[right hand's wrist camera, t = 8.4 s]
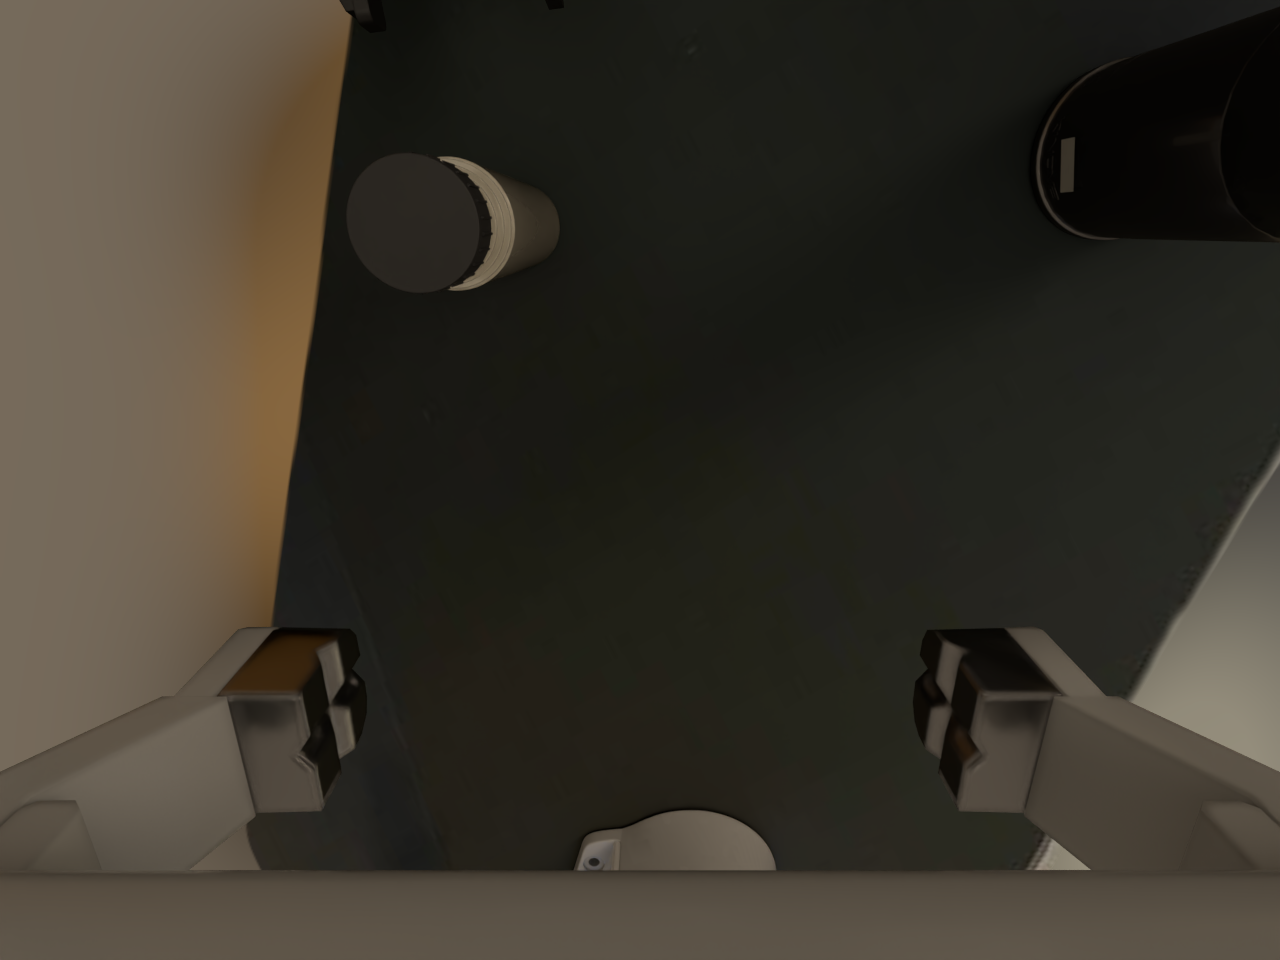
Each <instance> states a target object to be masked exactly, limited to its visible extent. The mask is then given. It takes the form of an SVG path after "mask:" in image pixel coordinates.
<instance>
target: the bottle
mask: <svg viewBox="0 0 1280 960" xmlns="http://www.w3.org/2000/svg"><path fill="white" fill-rule="evenodd" d="M437 158H440V161H442V160H444V161H447V162H449V163H452V164H455V167H456V168H458V169H459V170H461V171H462V172H464V173H467V174H468V175H469V176H468V177H469V178H470V179H471V180H472V181H473V182H474V183H475V185H477V186H479V187H480V188H479V190H480V192H481V193H482V195H483V197H484V199H485V200H487V202H488V203H486V204H487V207H488V210H489V213H490V216H492V219H491V228H492V229H491V232H493V235H491V241H490V246H489V248H490V250H489V251H488V252H487V255H486V257H485V259H484V264H482V265H480V267H479V268H478V269H477V270H476V272H475V275H474V276H471V277H469V278H468V279H466V280H465V281H463V282H464V283H463V284H461V285H458V286H455V287H450V288H451V289H448V290H453V291H459V290H468V289H473V288H476V287H479V286H481V285H484V284H487V283H489V282H492V281H495V280H497V279H500V278H503V277H505V276H508V275H511V274H513V273H516V272H519V271H521V270H524V269H526V268H529V267H532V266H534V265H537V264H539V263H541V262H542V261H544V260H545V259H546V258H547V257H548V256H549V255H550V254H551V253H552V251H553V250H554V248H555V246H556V244H557V241H558V238H559V232H560V223H559V217H558V214H557V211H556V209H555V206H554V205H553V203H552V201H551V200H550V199H549V198H548V197H547V196H546V195H545V194H544V193H543V192H542V191H541V190H539V189H537V188H536V187H533V186H531V185H529V184H526V183H524V182H521V181H518V180H516V179H513V178H511V177H508V176H506V175H503V174H501V173H498V172H496V171H493V170H491V169H488V168H486V167H483V166H481V165H478V164H476V163H473V162H471V161H468V160H465V159H461V158H457V157H437Z"/></svg>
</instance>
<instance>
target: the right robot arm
mask: <svg viewBox="0 0 1280 960" xmlns="http://www.w3.org/2000/svg"><path fill="white" fill-rule="evenodd" d="M359 656H360V652H359V647H358V642H357V637H356V634H355V633H354V632H353V631H352V630H351V629H338V628H288V627H282V628H278V627H247V628H243V629H238V630H237V631H236V632H235V633H234V634H233V635H232V636H231V637H230V638H229V639H228V640H227V641H226V643H225V644H224V645H223V646H222V647H221V648H220V649H219V650H218V651H217V652H216V653H215V654H214V655H213V656H212V657H211V658H210V659H209V660H208V661H207V662H206V664H204V666H203V667H202V668H201V669H200V670H199V671H198V672H197V673H196V674H195V675H194V676H193V677H192V678H191V679H190V680H189V681H188V682H187V683H186V684H185V685H184V686H183V688H181V690H180V691H179V692H178V693H177V694H176V695H175V696H171V697H160V698H158V699H156V700H154V701H151V702H149V703H147V704H145V705H143V706H141V707H139V708H136V709H134V710H132V711H130V712H128V713H126V714H123V715H121V716H119V717H117V718H115V719H113V720H111V721H108V722H106V723H104V724H102V725H100V726H98V727H96V728H93V729H91V730H89V731H87V732H85V733H83V734H81V735H78V736H76V737H74V738H72V739H70V740H68V741H66V742H63V743H61V744H59V745H57V746H55V747H53V748H50V749H48V750H46V751H44V752H42V753H40V754H38V755H35V756H33V757H31V758H29V759H27V760H25V761H23V762H20V763H18V764H16V765H14V766H12V767H10V768H7V769H5V770H3V771H1V772H0V960H1280V772H1279V771H1276V770H1274V769H1272V768H1270V767H1268V766H1266V765H1263V764H1261V763H1259V762H1257V761H1255V760H1253V759H1251V758H1249V757H1246V756H1244V755H1242V754H1240V753H1238V752H1236V751H1234V750H1231V749H1229V748H1227V747H1225V746H1223V745H1221V744H1219V743H1216V742H1214V741H1212V740H1210V739H1208V738H1206V737H1204V736H1201V735H1199V734H1197V733H1195V732H1193V731H1191V730H1189V729H1186V728H1184V727H1182V726H1180V725H1178V724H1176V723H1173V722H1171V721H1169V720H1167V719H1165V718H1163V717H1161V716H1159V715H1156V714H1154V713H1152V712H1150V711H1148V710H1146V709H1144V708H1141V707H1139V706H1137V705H1135V704H1133V703H1131V702H1129V701H1126V700H1124V699H1122V698H1120V697H1110V696H1105V695H1104V694H1103V693H1102V692H1101V691H1100V689H1099V688H1098V687H1097V686H1096V685H1095V684H1094V683H1093V682H1092V681H1091V680H1090V679H1089V678H1088V677H1087V676H1086V675H1085V674H1084V673H1083V672H1082V671H1081V670H1080V669H1079V668H1078V666H1077V665H1076V664H1075V663H1074V662H1073V661H1072V660H1071V659H1070V658H1069V657H1068V656H1067V655H1066V654H1065V653H1064V652H1063V651H1062V650H1061V649H1060V648H1059V647H1058V646H1057V644H1056V643H1055V642H1054V641H1053V640H1052V639H1051V638H1050V637H1049V636H1048V635H1047V634H1046V633H1045V632H1044V631H1043V630H1041V629H1038V628H1036V627H1010V628H987V629H946V630H927V632H926V634H925V636H924V638H923V640H922V645H921V651H920V656H921V658H922V660H923V661H924V663H925V665H926V666H927V668H928V669H927V670H926V671H925V672H924V673H923V674H922V675H921V676H920V677H919V678H918V679H917V680H916V681H915V689H914V697H913V708H914V719H915V724H916V727H917V731H918V734H919V737H920V739H921V741H922V743H923V745H924V747H925V749H927V750H928V751H930V752H931V753H932V754H934V755H935V756H937V757H938V758H940V759H941V760H940V766H939V771H938V773H939V775H940V777H941V779H942V781H943V783H944V785H945V786H946V788H947V790H948V792H949V794H950V796H951V798H952V800H953V801H954V803H955V805H956V807H957V809H958V811H979V812H1015V813H1025V814H1024V816H1025V817H1026V818H1028V819H1029V820H1030V821H1031V822H1033V823H1034V824H1035V825H1036V826H1037V827H1039V828H1040V829H1041V830H1042V831H1044V832H1045V833H1046V834H1047V835H1049V836H1050V837H1051V838H1052V839H1054V840H1055V841H1056V842H1057V843H1059V844H1060V845H1061V846H1062V847H1063V848H1065V849H1066V850H1067V851H1069V852H1070V853H1071V854H1072V855H1073V856H1075V857H1076V858H1077V859H1078V860H1080V861H1081V862H1082V863H1083V864H1085V865H1086V866H1087V867H1088V868H1090V869H1091V870H776V865H775V861H774V858H773V855H772V853H771V851H770V849H769V847H768V846H767V844H766V843H765V842H764V840H763V839H762V838H761V837H760V836H759V835H758V834H757V833H756V832H755V831H753V830H752V829H751V828H749V827H748V826H747V825H745V824H743V823H742V822H740V821H738V820H736V819H733V818H731V817H728V816H725V815H722V814H718V813H714V812H709V811H701V810H680V811H672V812H666V813H662V814H658V815H655V816H652V817H649V818H647V819H644V820H642V821H640V822H638V823H636V824H633V825H631V826H628V827H625V828H622V829H611V830H602V831H597V832H593V833H590V834H588V835H587V836H586V837H585V838H584V840H583V842H582V845H581V848H580V851H579V855H578V858H577V861H576V864H575V867H574V870H189V869H191V868H192V867H193V866H194V865H196V864H197V863H198V862H199V861H201V860H202V859H203V858H204V857H206V856H207V855H208V854H209V853H211V852H212V851H213V850H214V849H215V848H217V847H218V846H219V845H220V844H222V843H223V842H224V841H225V840H227V839H228V838H229V837H230V836H232V835H233V834H234V833H235V832H237V831H238V830H239V829H240V828H242V827H243V826H244V825H245V824H247V823H248V822H249V821H250V820H252V819H253V818H254V817H255V816H256V814H255V813H264V812H299V811H322V809H323V807H324V805H325V803H326V802H327V800H328V798H329V796H330V794H331V792H332V790H333V788H334V786H335V785H336V783H337V781H338V779H339V777H340V775H341V773H342V771H341V766H340V760H339V759H340V758H342V757H343V756H345V755H346V754H348V753H349V752H350V751H352V750H353V749H355V747H356V744H357V742H358V740H359V738H360V736H361V734H362V731H363V727H364V722H365V718H366V713H367V694H366V688H365V681H364V680H363V679H362V678H361V677H360V676H359V675H358V674H357V673H356V672H355V671H354V670H353V669H352V668H353V666H354V664H355V663H356V661H357V660H358V658H359ZM593 858H596V859H593Z"/></svg>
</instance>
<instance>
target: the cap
mask: <svg viewBox="0 0 1280 960" xmlns="http://www.w3.org/2000/svg"><path fill="white" fill-rule="evenodd" d="M468 176H469V175H468V174H467V173H464V172H462V171H461V170H459V169H458V168H456V167H455V164H452V163H449V162H447V161H444V160H442V161H440V158H437V157H435V156H432V155H429V154H426V155H421V154H417V153H414V152H409V153H396V154H391V155H388V156H385V157H382V158H380V159H378V160H376V161H375V162H373V163H372V164H370V165H369V166H368V167H367V168H366V169H365V170H364V171H363V172H362V173H361V174H360V175H359V177H358V178H357V180H356V181H355V183H354V185H353V187H352V189H351V192H350V194H349V198H348V202H347V210H346V222H347V229H348V234H349V237H350V241H351V243H352V246H353V248H354V250H355V252H356V254H357V256H358V257H359V259H360V260H361V262H362V263H363V265H364V266H365V267H366V268H367V269H368V270H369V271H370V272H371V273H372V274H373V275H374V276H375V277H376V278H378V279H379V280H381V281H382V282H383V283H385V284H387V285H389V286H391V287H393V288H395V289H398V290H401V291H405V292H408V293H422V294H427V293H430V292H435V291H437V293H439V292H442V291H445V290H448V289H451V288H450V287H455V286H458V285H461V284H463V283H464V282H463V281H465V280H466V279H468V278H469V277H471V276H474V275H475V272H476V270H477V269H478V268H479V267H480V265H482V264H484V259H485V257H486V255H487V252H488V251H489V250H490V248H489V246H490V241H491V235H493V232H491V229H492V228H491V219H492V216H490V213H489V210H488V207H487V204H486V203H488V202H487V200H485V199H484V197H483V195H482V193H481V192H480V190H479V188H480V187H479V186H477V185H475V183H474V182H473V181H472V180H471V179H470V178H469V177H468Z"/></svg>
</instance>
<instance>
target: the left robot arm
mask: <svg viewBox="0 0 1280 960" xmlns="http://www.w3.org/2000/svg"><path fill="white" fill-rule="evenodd" d="M340 2H341V4H342V5H343V7H344V9H345V10H346V12H348V13H349V14H350V15H352V16H353V17H354V18H356V19H357V20H358V22H359V24H360V25H361V26H362V27H363V28H365V29H366V30H367V31H369V32H370V33H373V32H380V31H386V22H385V17H384V12H383V7H382V2H381V0H340ZM546 3H547V5H548V8H549V10H550V9H558V8H564V3H563V0H546ZM1031 181H1032V187H1033V191H1034V194H1035V197H1036V200H1037V202H1038V204H1039V206H1040V208H1041V210H1042V211H1043V213H1044V214H1045V215H1046V217H1047V218H1048V219H1049V220H1050V221H1051V222H1052V223H1053V224H1054V225H1055V226H1057V227H1058V228H1059V229H1061V230H1062V231H1064V232H1066V233H1068V234H1070V235H1073V236H1076V237H1080V238H1084V239H1093V240H1112V239H1119V238H1126V239H1154V240H1198V241H1242V242H1280V7H1277V8H1274V9H1271V10H1268V11H1265V12H1262V13H1260V14H1257V15H1254V16H1251V17H1248V18H1245V19H1242V20H1239V21H1236V22H1233V23H1230V24H1227V25H1225V26H1222V27H1219V28H1216V29H1213V30H1210V31H1207V32H1204V33H1201V34H1198V35H1195V36H1192V37H1190V38H1187V39H1184V40H1181V41H1178V42H1175V43H1172V44H1169V45H1166V46H1163V47H1160V48H1157V49H1154V50H1151V51H1148V52H1145V53H1142V54H1139V55H1136V56H1134V57H1128V58H1123V59H1119V60H1116V61H1113V62H1110V63H1107V64H1104V65H1102V66H1099V67H1097V68H1095V69H1093V70H1091V71H1089V72H1087V73H1086V74H1084V75H1082V76H1081V77H1080V78H1078V79H1077V80H1076V81H1074V82H1073V83H1072V84H1071V85H1070V86H1069V87H1067V88H1066V89H1065V90H1064V91H1063V92H1062V94H1061V95H1060V96H1059V97H1058V98H1057V99H1056V101H1055V102H1054V103H1053V104H1052V106H1051V107H1050V109H1049V110H1048V112H1047V114H1046V115H1045V117H1044V119H1043V121H1042V123H1041V125H1040V127H1039V130H1038V132H1037V135H1036V138H1035V142H1034V145H1033V150H1032V156H1031Z"/></svg>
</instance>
